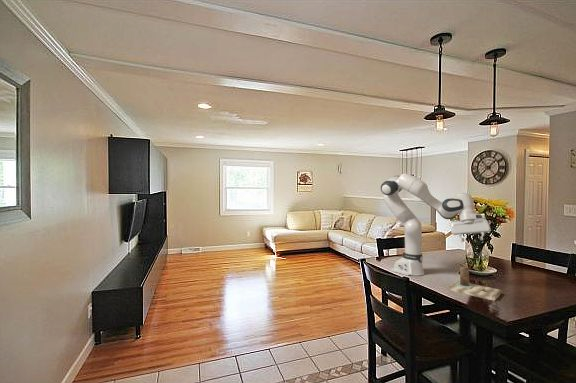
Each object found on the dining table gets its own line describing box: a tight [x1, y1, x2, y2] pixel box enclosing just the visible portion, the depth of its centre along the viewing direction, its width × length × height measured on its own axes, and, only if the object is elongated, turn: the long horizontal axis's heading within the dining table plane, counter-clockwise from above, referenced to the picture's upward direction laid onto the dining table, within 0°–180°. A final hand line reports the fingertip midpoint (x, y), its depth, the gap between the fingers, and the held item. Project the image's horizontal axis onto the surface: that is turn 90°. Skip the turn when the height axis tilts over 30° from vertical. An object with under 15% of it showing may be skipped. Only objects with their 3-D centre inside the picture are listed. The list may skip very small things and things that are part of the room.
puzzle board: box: [448, 280, 502, 302], centre depth 161 cm, size 22×14×2 cm, turn 42°
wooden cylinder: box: [459, 266, 470, 286], centre depth 165 cm, size 4×4×10 cm
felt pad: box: [455, 282, 474, 289], centre depth 165 cm, size 8×8×1 cm
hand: (472, 240), depth 166 cm, fingers open, 8 cm apart
